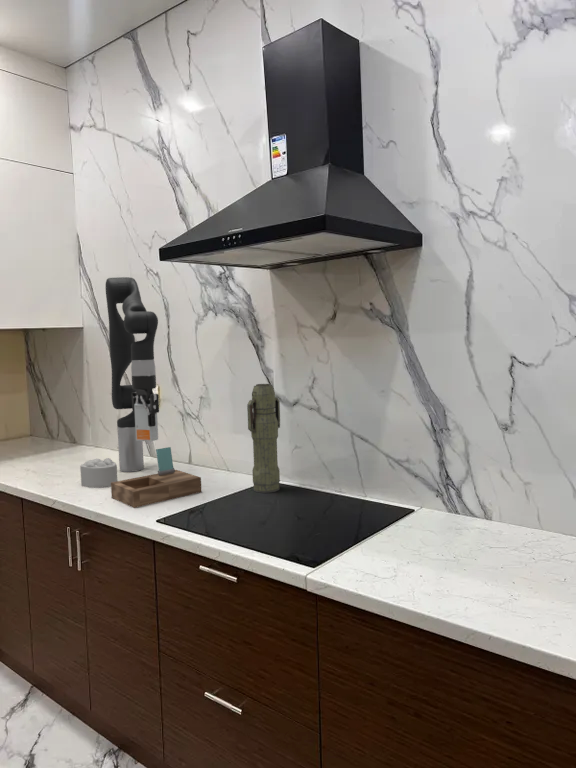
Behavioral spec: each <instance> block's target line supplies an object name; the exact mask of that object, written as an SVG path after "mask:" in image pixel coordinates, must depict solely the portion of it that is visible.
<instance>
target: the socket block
mask: <svg viewBox="0 0 576 768" xmlns="http://www.w3.org/2000/svg"><path fill="white" fill-rule="evenodd" d="M110 489H111V490H110V492H111V499H113V500H116V501H118V502H120V503H123V504H124V505H126V506H129V507H131V508H133V509H135V508H140V507H144V506H149V505H152V504H153V505H154V504H157V503H160V502H162V503H163V502H166V501H171V500H175V499H179V498H182V497H183V498H184V497H185V496H186V497H187V496H191V495H195V494H200V493H203V492H202V477H201V476H198V475H195V474H192V473H188V472H186V471H185V472H184V471H181V470H178V469H175V472H174V473H170V474H165V475H160V476H159V475H158V472H157V473H153V474H147V475H141V476H138V477H132V478H129V479H123V480H117V482H112V483H111V487H110Z"/></svg>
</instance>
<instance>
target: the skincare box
mask: <svg viewBox="0 0 576 768" xmlns="http://www.w3.org/2000/svg"><path fill="white" fill-rule="evenodd" d="M147 405H150V404H147ZM134 409H135V431H136V441H143V442H150V443H151V442H154V441H158V440H159V427H158V425H159V423H158V413H156V414H155V423H156V425H155V426H152V427H150V426H148V413H147V410H146V409H145V408H144V405H143V404H134ZM149 409H150V407H149ZM155 409H156V406H155Z"/></svg>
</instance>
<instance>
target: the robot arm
mask: <svg viewBox="0 0 576 768" xmlns="http://www.w3.org/2000/svg"><path fill="white" fill-rule="evenodd" d="M104 289H105V297H106V305H107V307H106V308H107V317H108V329H109V330H108V332H109V333H108V335H109V337H108V338H109V341H108V342H109V354H110V355H109V357H110V364H111V366H110V367H111V403H112V404H111V405H112V407H113V408H114V409H116V410H126V409H127V410H130V409H132V410H131V412H130V413H127V415H125V416H123V417H120V418H118V419H117V421H116V423H117V424H116V425H117V426H116V427H117V429H116V430H117V445H118V462H119V463H118V464H119V472H125V473H126V472H127V473H130V472H138V471H142V470H143V469H144V468H145V462H144V460H145V459H144V445H143V444H144V441H136V431H135V409H134V404H143V405H144V408H145V409H146V410H147V413H148V426H150V427H152V426H155V425H156V423H155V414H156V413H157V414H158V413H159V412H160V401H159V400H160V399H159V398H160V397H159V393H154V391H153V390H154V389H156V388H157V377H156V376H157V375H156V374H157V373H156V364H155V352H154V350H155V349H154V348H155V347H154V345H155V337H156V334H157V330H158V325H159V318H158V315H157V314H156V313H155V312H154V311H147V309H146V307H145V306H144V304H143V302H142V297H141V292H140V290H139V284H138V283H137V281H136V279H135V278H133V277H125V276H123V277H119V276H118V277H108V278H107V279H106V281H105V288H104ZM117 304H122V307H121V308H122V313H123V315H124V319H123V318H122V316H121V314H120V312H119V310H118V308H117V307H118V306H117ZM137 334H138V335H139V334H142V335H143V334H145V337H144V338H143V339H141V340H138V341H136V337H135V335H137ZM129 366H130V371H131V373H130V375H131V384H126V385H125V384H124V385H122V384H121V383H122V382H121V381H122V379H123V376H124V374H125V373H126V371H127V369H128V368H129ZM147 404H150V405H147ZM155 406H156V409H155ZM149 407H150V409H149Z"/></svg>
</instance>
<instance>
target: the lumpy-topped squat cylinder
mask: <svg viewBox="0 0 576 768" xmlns="http://www.w3.org/2000/svg"><path fill="white" fill-rule="evenodd" d="M79 466H80V484H81V486H82V487H85V488H89V489H90V488H91V489H102V488H103V489H104V488H105V489H106V488H111V483H112V482H117V481H118V467H117V463H116V462H115V461H113V460H112V459H111V458H110V457H106V458H104V459H103V460H102V459H100V458H94V459H90V460H86V461H85V462H83V463H81V464H80V465H79Z"/></svg>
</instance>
